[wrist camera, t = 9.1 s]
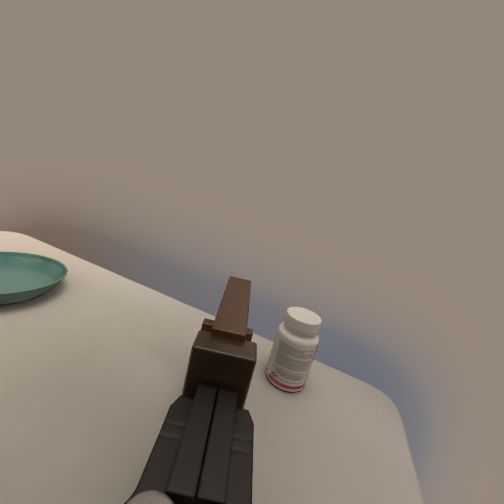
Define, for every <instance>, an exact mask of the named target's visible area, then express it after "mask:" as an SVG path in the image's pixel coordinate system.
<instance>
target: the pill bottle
mask: <svg viewBox="0 0 504 504" xmlns="http://www.w3.org/2000/svg"><path fill="white" fill-rule="evenodd" d="M321 323H322V320H321V318H320V317H319V316H318V315H317V314H315V313H314V312H312V311H310V310H308V309H305V308H301V307H290V308H288V310H287V312H286V316H285V319H284V322H283V323H281V324H280V325H279V328H278V330H277V334H276V337H275V341H274V344H273V347H272V351H271V354H270V358H269V361H268V364H267V368H266V374H267V377H268V379H269V380H270V382H271V383H272V384H273V385H275V386H276V387H277V388H279V389H281V390H284V391H289V392H296V391H299V390H301V389H302V388H303V387H304V385H305V382H306V379H307V376H308V373H309V370H310V367H311V364H312V361H313V359H314V355H315V352H316V349H317V347H318V343H319V337H318V333H319V331H320V327H321Z"/></svg>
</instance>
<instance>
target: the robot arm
mask: <svg viewBox="0 0 504 504" xmlns="http://www.w3.org/2000/svg"><path fill="white" fill-rule="evenodd" d="M216 392H217V387H214V386H209V385H205V384H200V383H199V384H198V387H197V391H196V394H195V397H194V398H190V397H185V396H180V397H179V398H178V399H177V400H176V401H175V402H174V403H173V404H172V405H171V406H170V408H169V411H168V413H167V415H166V418H165V421H164V423H163V425H162V428H161V430H160V433H159V435H158V437H157V440H156V442H155V445H154V447H153V449H152V452H151V454H150V457H149V459H148V462H147V464H146V466H145V469H144V471H143V474H142V476H141V479H140V481H139V483H138V486H137V488H136V490H135V491H134V493H133V494H132V496H131V497H130V498H129V499H128V500H127V501H126V502H125V503H124V504H252V474H253V430H254V424H253V421H252V419H251V416H250V413H249V411H248V410H244V409H240V408H236V403H237V391H232V390H228V389H223V388H219V389H218V393H217V397H216ZM215 397H216V401H215ZM214 401H215V406H214ZM213 406H214V410H213ZM212 411H213V414H212ZM211 415H212V418H211ZM210 420H211V422H210ZM209 425H210V426H209ZM208 430H209V431H208ZM207 434H208V435H207ZM206 439H207V440H206ZM203 453H204V454H203ZM202 458H203V459H202ZM200 467H201V468H200ZM199 472H200V473H199ZM198 477H199V478H198ZM196 486H197V487H196ZM195 491H196V492H195ZM194 496H195V497H194ZM193 500H194V501H193Z"/></svg>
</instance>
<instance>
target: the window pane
mask: <svg viewBox="0 0 504 504" xmlns="http://www.w3.org/2000/svg"><path fill="white" fill-rule="evenodd" d="M250 289H251V281H248V280H244V279H240V278H236V277H231V276H230V277H229V280H228V283H227V287H226V289H225V292H224V295H223V298H222V301H221V304H220V307H219V310H218V312H217V315H216V318H215V321H214V324H213V327H212V331H211V332H207V331H202V330H200V331H199V332H198V334H197V336H196V339H195V341H194V343H193V346H192V349H191V354H190V359H189V364H188V368H187V373H186V378H185V383H184V387H183V392H182V396H185V397H190V398H194V397H195V394H196V391H197V387H198V384H199V383H200V384H205V385H209V386H214V387H217V392H216V397H217V393H218V389H219V388H223V389H228V390H232V391H237V403H236V408H240V409H243V408H244V404H245V401H246V397H247V393H248V390H249V386H250V383H251V379H252V376H253V372H254V368H255V365H256V356H257V345H256V343H255V342H250V341H246V340H245V339H246V335H247V322H248V311H249V300H250ZM216 397H215V401H216ZM215 401H214V406H215ZM214 406H213V410H214ZM212 414H213V411H212ZM211 418H212V415H211ZM210 422H211V420H210ZM209 426H210V425H209ZM208 431H209V430H208ZM207 435H208V434H207ZM206 440H207V439H206ZM203 454H204V453H203ZM202 459H203V458H202ZM200 468H201V467H200ZM199 473H200V472H199ZM198 478H199V477H198ZM196 487H197V486H196ZM195 492H196V491H195ZM194 497H195V496H194ZM193 501H194V500H193Z"/></svg>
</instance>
